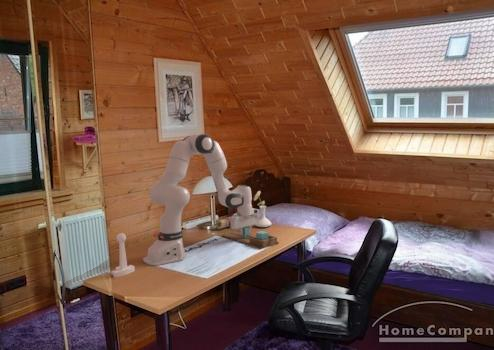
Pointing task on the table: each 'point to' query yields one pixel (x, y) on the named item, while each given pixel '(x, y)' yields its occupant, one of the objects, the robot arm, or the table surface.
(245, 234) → the block with cord
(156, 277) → the table surface
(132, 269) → the joystick
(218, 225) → the scroll
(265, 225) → the flower in vase
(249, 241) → the lane board
